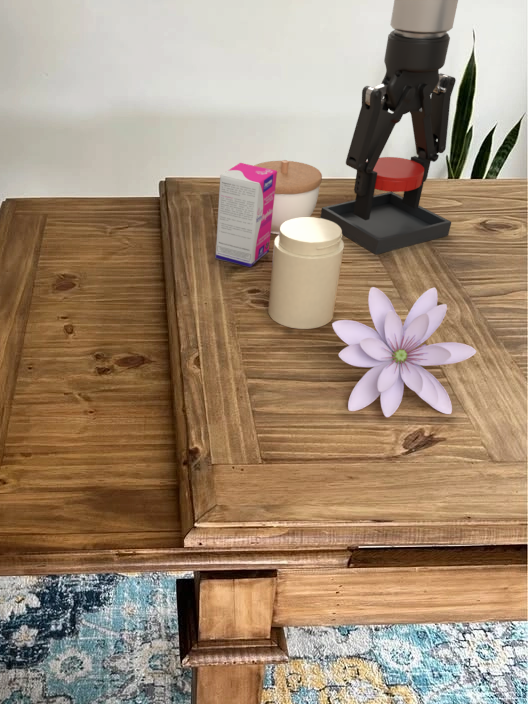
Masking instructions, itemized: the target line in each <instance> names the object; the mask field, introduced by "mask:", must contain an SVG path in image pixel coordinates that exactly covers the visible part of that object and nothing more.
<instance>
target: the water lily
mask: <svg viewBox="0 0 528 704" xmlns="http://www.w3.org/2000/svg"><path fill="white" fill-rule="evenodd" d="M438 297H439V295H438V290H437V288H436V287H431V288H429V289H427V290H426V291H424V292H423V293H422V294H421V295H420V296H419V297H418V298H417V300H416V301H414V304H413V305H412V306H411V308H410V310H409V312H408V314H407V315H406V318H405V319H404V321H403V322H402V319H401V316H400V315H398V313H397V312H396V310H395V307H394V305H393V303H392V301H391V300H390V298H389V297H388V296H387V295H386V294H385V292H383V291H382V290H381V289H379V288H378V287H376V286H371V287H370V289H369V292H368V299H367V300H368V303H367V304H368V311H369V315H370V317H371V320H372V323H373V325H374V328H375V329H374V328H373V327H370V326H369V325H366V324H364V323H361V322H360V321H356V320H350V319H341V320H335V321H334V322H332V323H331V325H332V329H333V331H334V333H335V334H336V335H337V336H338V338H339V339H340V340H342V342H344V343H345V344H347V345H348V346H346V347H344V348H342V349H341V351H340V352H339V353H338V357H339V359H341V360H342V362H344V363H346V364H348V365H351V366H353V367H357V368H370V369H369V370H368V371H367V372H365V373H364V374H363V376H362V377H361V378H360V379H359V381H358V382H357V383H356V384H355V386H354V387H353V389H352V390H351V392H350V396H349V399H348V402H347V410H348V411H349V412H356V411H361V410H362V409H364V408H366V407H368V406H369V405H371V404H372V403H373V402H374V401H376V400H377V399H378V398H379V397H380V407H381V411H382V413H383V416H384V417H385V418H389V417H391V416H393V415H394V413H396V412H397V410H398V408H399V406H400V405H401V402H402V400H403V395H404V390H405V385H406V386H407V388H409V390H411V391H413V392H415V394H416V395H417V396H418V397H419V398H421V400H423V401H424V402H426V404H428V405H429V406H430V407H432V408H433V409H435V410H436V411H438V412H440V413H442V414H445V415H451V414H452V412H453V406H452V401H451V398H450V396H449V393H448V391H447V390H446V389H445V387H444V386H443V384H441V382H440V381H439V380H438V379H437V378H436V376H434V375H433V373H431V372H430V371H428V370H427V369H426V368H425V366H427V367H428V366H443V365H444V366H445V365H452V364H457V363H460V362H464V361H466V360H467V359H468V360H469V358H471V357H473V356H475V354H477V350H476V349H475V348H474V347H473V346H471V345H468V344H465V343H462V342H455V341H447V342H437V343H431V344H428V345H427V344H423V343H425V342H426V341H427V340H428V339H429V338H430V337H431V336H432V335H433V334H434V333H435V332H436V330H437V329H438V328H439V327H440V326H441V324H442V323H443V321H444V319H445V316H446V314H447V309H448V305H447V304H446V303H445V304H444V303H442V304H439V305H438ZM421 344H423V345H421ZM423 366H424V367H423Z"/></svg>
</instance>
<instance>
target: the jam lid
mask: <svg viewBox="0 0 528 704" xmlns="http://www.w3.org/2000/svg"><path fill="white" fill-rule="evenodd" d="M366 162H368V160H367V161H366ZM373 171H375V172H377V179H376V184H375V190H378V191H382V192H393V193H404V191H410V190H414V189H416V188H418V187H420V185H421V184H422V179H423V175H424V167H423V166H422V165H421V164H419V163H417V162H415V161H412V160H411V159H408V158H404V157H398V156H397V157H394V156H383V157H379V159H378V161H377V163H376V165H375V167H374V169H373Z"/></svg>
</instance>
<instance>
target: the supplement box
mask: <svg viewBox="0 0 528 704" xmlns="http://www.w3.org/2000/svg"><path fill="white" fill-rule="evenodd" d="M276 177H277V171H276V170H272V169H267V168H262V167H257V166H254V165H252V164H248V163H244V162H239V163H237V164H236V165H235V166H233V167H231V168H230V169H228V170H227V171H225V172H223V173H222V174H220V175H219V189H218V190H219V191H218V208H217V227H216V243H215V244H216V245H215V256H214V257H215V259H216V260H218V261H219V260H220V261H223V262H228V263H232V264H235V265H239V266H243V267H247V268H251V267H253V266H254V265H255V264H256V263H257V262H259V260H261V259H262V257H264V256H265V255H267V254H268V253H269V252H270V242H271V234H272V233H271V224H272V215H273V205H274V196H275V186H276Z"/></svg>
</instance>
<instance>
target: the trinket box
mask: <svg viewBox="0 0 528 704" xmlns="http://www.w3.org/2000/svg"><path fill="white" fill-rule="evenodd" d="M253 166H257V167H262V168H267V169H272V170H276V171H277V177H276V186H275V196H274V205H273V215H272V224H271V234H273V235H279V231H280V226H281V225H282V224H283V223H284V222H285V221H287V220H290V219H294V218H300V217H312V215H313V213H314V211H315V208H316V206H317V203H318V199H319V195H320V189H321V184H322V180H323V174H322V172H321V171H320V169H318V168H317V167H315V166H313V165H310V164H308V163H304V162H300V161H293V160H286V159H284V160H272V161H271V160H270V161H265V162H264V161H263V162H260V163H256V164H254V165H253Z"/></svg>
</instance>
